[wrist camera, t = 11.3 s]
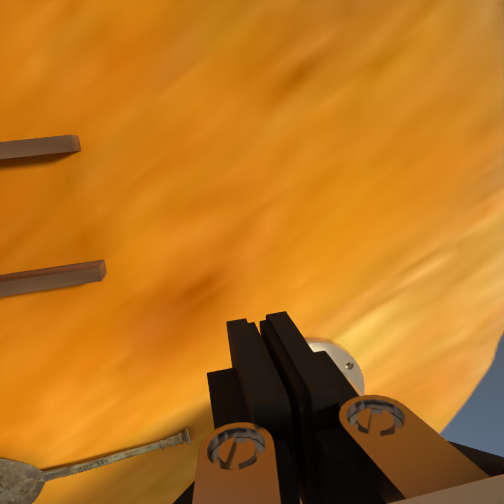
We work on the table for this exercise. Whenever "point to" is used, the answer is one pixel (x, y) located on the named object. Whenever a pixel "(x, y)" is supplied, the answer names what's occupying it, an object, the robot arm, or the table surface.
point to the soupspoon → (61, 471)
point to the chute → (53, 275)
